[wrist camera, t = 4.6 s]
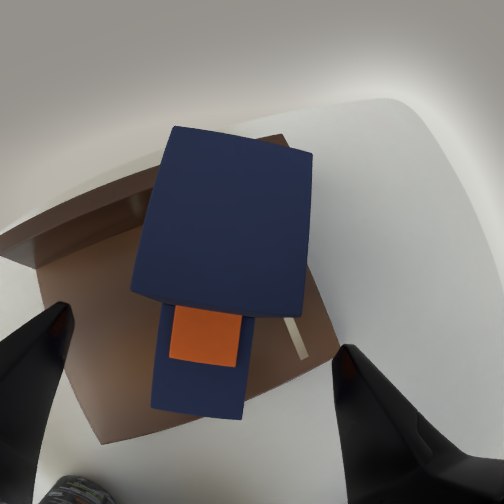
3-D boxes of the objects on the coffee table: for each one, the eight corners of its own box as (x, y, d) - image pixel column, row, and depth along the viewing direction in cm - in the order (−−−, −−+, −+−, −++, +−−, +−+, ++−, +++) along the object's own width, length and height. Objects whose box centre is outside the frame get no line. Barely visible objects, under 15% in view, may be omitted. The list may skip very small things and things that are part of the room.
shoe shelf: (333, 350, 19) (381, 359, 13) (107, 437, 14) (78, 474, 9) (260, 178, 21) (282, 132, 15) (42, 258, 16) (-3, 236, 11)
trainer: (234, 397, 16) (278, 482, 6) (157, 386, 15) (113, 464, 5) (256, 236, 18) (316, 153, 9) (182, 224, 17) (170, 124, 8)
